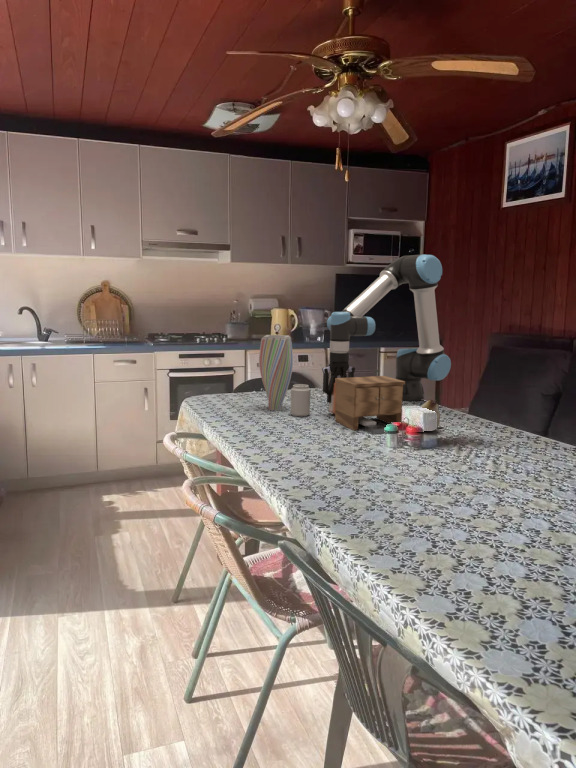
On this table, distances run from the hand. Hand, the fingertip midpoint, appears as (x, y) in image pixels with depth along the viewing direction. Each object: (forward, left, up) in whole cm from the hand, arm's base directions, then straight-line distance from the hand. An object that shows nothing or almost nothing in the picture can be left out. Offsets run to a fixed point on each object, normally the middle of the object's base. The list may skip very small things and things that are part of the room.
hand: (337, 410), depth 232 cm
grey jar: (+14, -4, -2) cm, 15 cm away
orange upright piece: (0, +12, -1) cm, 12 cm away
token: (0, +30, -2) cm, 30 cm away
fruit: (-18, +34, -2) cm, 38 cm away
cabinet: (-4, +18, -2) cm, 18 cm away
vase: (+19, -18, -2) cm, 26 cm away
